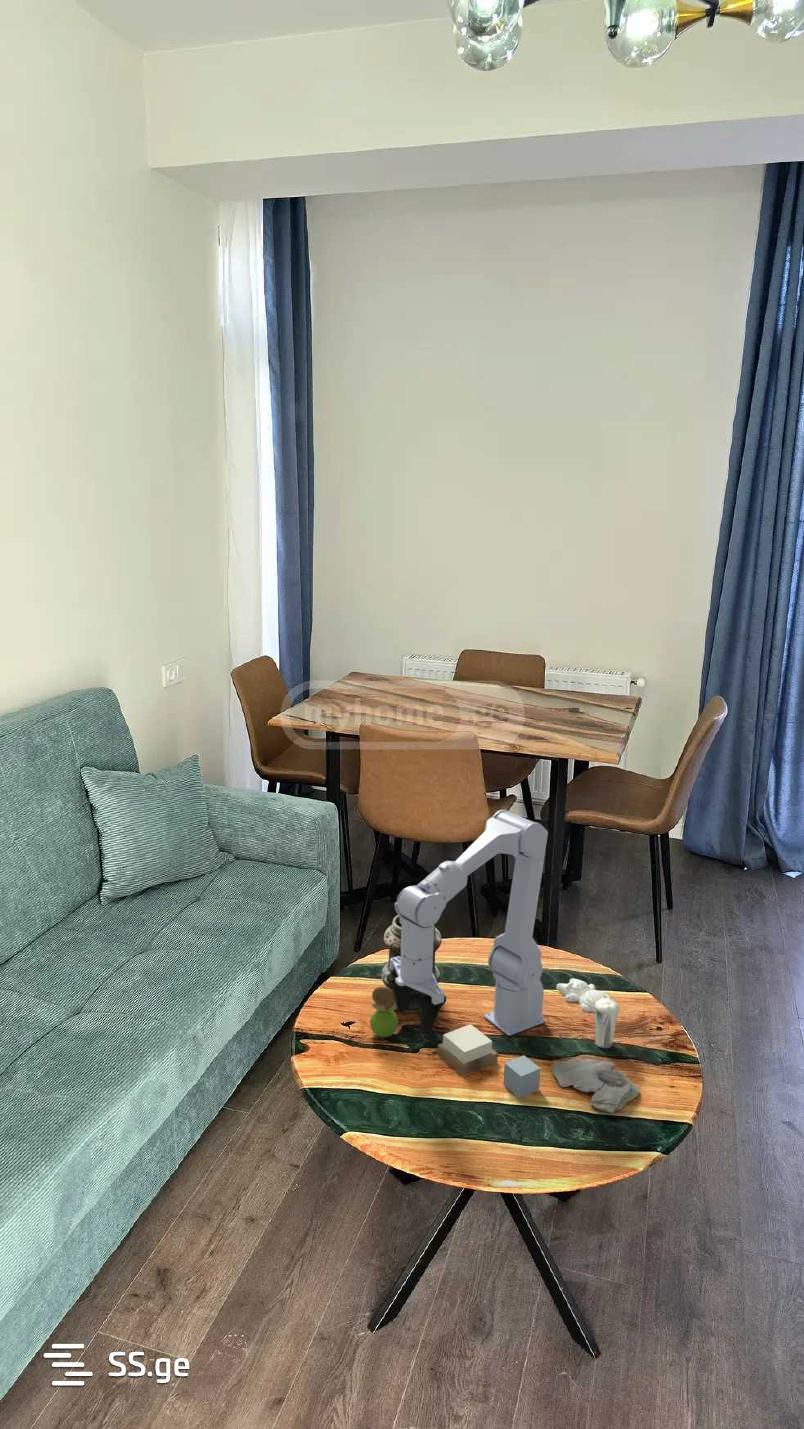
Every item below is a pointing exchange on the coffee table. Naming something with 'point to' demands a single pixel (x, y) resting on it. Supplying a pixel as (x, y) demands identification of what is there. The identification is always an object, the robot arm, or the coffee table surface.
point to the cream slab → (467, 1044)
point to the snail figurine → (383, 1012)
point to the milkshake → (605, 1021)
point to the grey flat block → (469, 1066)
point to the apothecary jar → (394, 945)
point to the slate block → (521, 1076)
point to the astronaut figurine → (581, 994)
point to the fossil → (596, 1082)
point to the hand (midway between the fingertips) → (414, 1020)
